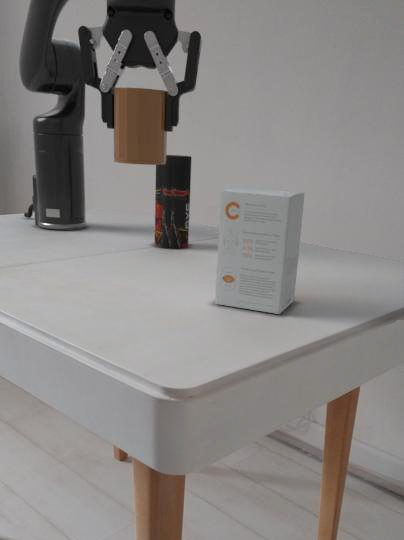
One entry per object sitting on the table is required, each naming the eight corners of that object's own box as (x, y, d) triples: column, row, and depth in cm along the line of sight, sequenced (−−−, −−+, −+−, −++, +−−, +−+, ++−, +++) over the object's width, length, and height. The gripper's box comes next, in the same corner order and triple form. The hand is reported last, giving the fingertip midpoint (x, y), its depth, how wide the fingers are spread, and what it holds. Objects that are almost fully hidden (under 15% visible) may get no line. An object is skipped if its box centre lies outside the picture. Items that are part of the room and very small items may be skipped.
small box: (294, 302, 69) (306, 191, 64) (279, 315, 63) (291, 195, 58) (232, 292, 72) (239, 186, 67) (213, 304, 66) (219, 189, 61)
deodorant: (187, 249, 97) (190, 157, 92) (152, 247, 97) (154, 155, 92) (188, 243, 103) (192, 156, 97) (156, 241, 103) (157, 154, 97)
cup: (103, 161, 67) (102, 87, 64) (136, 160, 72) (136, 91, 69) (144, 165, 64) (145, 87, 61) (175, 164, 69) (178, 92, 66)
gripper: (209, -26, 64) (202, 133, 70) (84, -31, 64) (87, 127, 71) (206, -45, 57) (198, 133, 63) (65, -51, 57) (71, 126, 64)
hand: (140, 129), depth 67 cm, fingers closed on cup, 6 cm apart
